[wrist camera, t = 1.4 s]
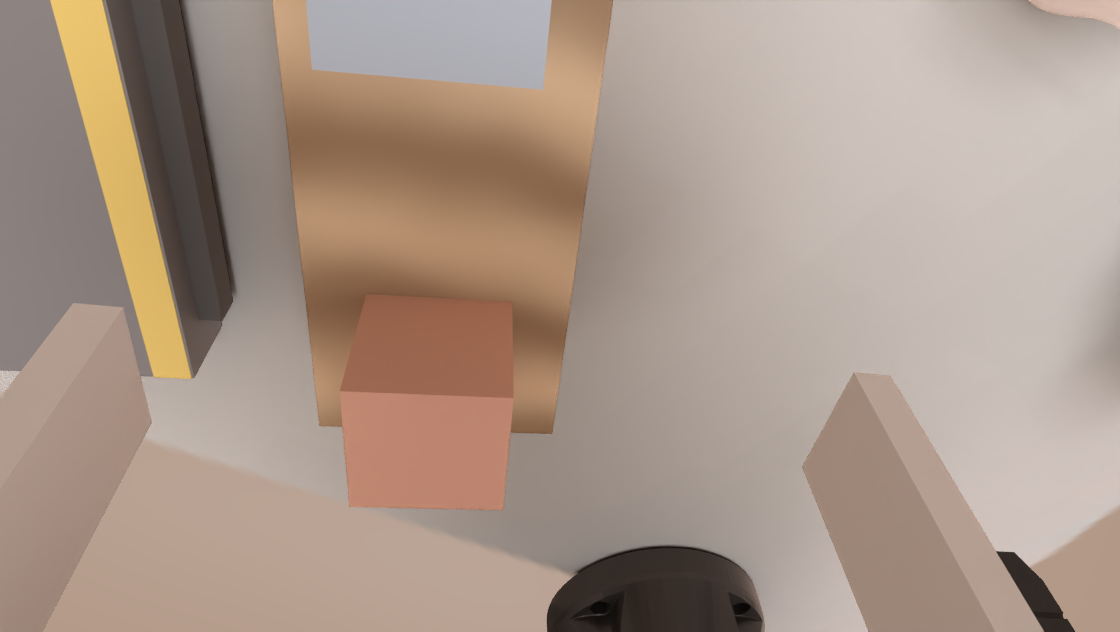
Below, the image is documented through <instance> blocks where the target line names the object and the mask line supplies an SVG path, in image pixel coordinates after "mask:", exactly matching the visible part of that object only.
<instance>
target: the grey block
mask: <svg viewBox="0 0 1120 632" xmlns="http://www.w3.org/2000/svg"><path fill="white" fill-rule="evenodd" d="M551 3H552V0H306V6H307V18H308V30H309V41H310V53H311V65H312V70H322V71H334V72H345V73H357V74H368V75H379V76H391V77H402V78H414V79H425V80H437V81H448V82H460V83H471V84H483V85H494V86H506V87H517V88H529V89H540V90H543V87H544V76H545V66H546V55H547V45H548V34H549V24H550V13H551Z"/></svg>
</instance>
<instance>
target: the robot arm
mask: <svg viewBox="0 0 1120 632" xmlns="http://www.w3.org/2000/svg"><path fill="white" fill-rule="evenodd" d="M150 424H151V418H150V413H149V409H148V405H147V401H146V397H145V393H144V389H143V385H142V381H141V377H140V373H139V369H138V365H137V361H136V357H135V353H134V349H133V345H132V341H131V337H130V333H129V329H128V325H127V321H126V317H125V313H124V309H123V307H114V306H102V305H91V304H80V303H73V304H72V305H71V307H70V308H69V309H68V311H67V312H66V313H65V314H64V316H63V317H62V318H61V320H60V321H59V322H58V324H57V325H56V326H55V327H54V329H53V330H52V331H51V333H50V334H49V335H48V337H47V338H46V339H45V340H44V342H43V343H42V344H41V346H40V347H39V348H38V350H37V351H36V352H35V353H34V355H33V356H32V357H31V359H30V360H29V361H28V363H27V364H26V365H25V366H24V368H23V369H22V370H21V372H20V373H19V374H18V376H17V377H16V378H15V379H14V381H13V382H12V383H11V385H10V386H9V387H8V389H7V390H6V391H5V392H4V394H3V395H2V396H1V398H0V632H43V630H44V628H45V626H46V624H47V622H48V620H49V618H50V617H51V615H52V613H53V611H54V609H55V607H56V605H57V603H58V601H59V599H60V597H61V595H62V594H63V591H64V590H65V588H66V586H67V584H68V582H69V580H70V578H71V576H72V574H73V572H74V570H75V569H76V566H77V565H78V563H79V561H80V559H81V557H82V555H83V553H84V551H85V549H86V547H87V546H88V543H89V542H90V540H91V537H92V536H93V534H94V532H95V530H96V528H97V526H98V524H99V522H100V520H101V519H102V517H103V515H104V513H105V511H106V509H107V507H108V505H109V503H110V501H111V499H112V497H113V495H114V494H115V492H116V490H117V488H118V486H119V484H120V482H121V480H122V478H123V476H124V474H125V472H126V470H127V469H128V467H129V465H130V463H131V461H132V459H133V457H134V455H135V453H136V451H137V449H138V447H139V446H140V444H141V442H142V440H143V438H144V436H145V434H146V432H147V430H148V428H149V426H150ZM802 468H803V470H804V473H805V475H806V478H807V480H808V483H809V485H810V488H811V490H812V493H813V495H814V497H815V500H816V502H817V505H818V507H819V510H820V512H821V515H822V517H823V520H824V522H825V525H826V527H827V530H828V532H829V535H830V537H831V540H832V542H833V545H834V547H835V549H836V552H837V554H838V557H839V559H840V562H841V564H842V567H843V569H844V572H845V574H846V577H847V579H848V582H849V584H850V587H851V589H852V592H853V594H854V596H855V599H856V601H857V604H858V606H859V609H860V611H861V614H862V616H863V619H864V621H865V624H866V626H867V629H868V631H869V632H1075V631H1074V629H1073V627H1072V626H1071V624H1070V623H1069V621H1068V620H1067V619H1064V618H1063V612H1062V610H1061V609H1060V607H1059V605H1058V604H1057V602H1056V601H1055V599H1054V598H1053V596H1052V594H1051V593H1050V591H1049V590H1048V588H1047V586H1046V585H1045V583H1044V582H1043V580H1042V579H1041V578H1039V576H1038V575H1037V574H1036V573H1035V572H1034V571H1032V570H1031V569H1030V568H1029V567H1028V566H1027V565H1026V564H1025V563H1024V562H1023V561H1022V560H1021V559H1020V558H1019V557H1018V556H1017V555H1016V554H1015V553H1014V552H998V551H995V549H994V547H993V546H992V544H991V542H990V541H989V539H988V537H987V536H986V534H985V532H984V531H983V529H982V527H981V526H980V524H979V522H978V521H977V519H976V517H975V516H974V514H973V512H972V511H971V509H970V507H969V506H968V504H967V502H966V501H965V499H964V497H963V496H962V494H961V492H960V491H959V489H958V487H957V486H956V484H955V482H954V481H953V479H952V477H951V476H950V474H949V472H948V471H947V469H946V467H945V466H944V464H943V462H942V461H941V459H940V457H939V456H938V454H937V452H936V451H935V449H934V447H933V446H932V444H931V442H930V441H929V439H928V437H927V436H926V434H925V432H924V431H923V429H922V427H921V426H920V424H919V422H918V421H917V419H916V417H915V416H914V414H913V412H912V411H911V409H910V407H909V406H908V404H907V402H906V401H905V399H904V397H903V396H902V394H901V392H900V391H899V389H898V387H897V386H896V384H895V382H894V381H893V379H892V377H891V376H887V375H876V374H865V373H853V375H852V377H851V379H850V381H849V382H848V384H847V386H846V388H845V390H844V391H843V393H842V395H841V397H840V399H839V401H838V402H837V404H836V406H835V408H834V410H833V411H832V413H831V415H830V417H829V419H828V421H827V422H826V424H825V426H824V428H823V430H822V431H821V433H820V435H819V437H818V439H817V441H816V442H815V444H814V446H813V448H812V450H811V451H810V453H809V455H808V457H807V459H806V460H805V462H804V464H803V466H802ZM547 632H765V624H764V617H763V612H762V609H761V606H760V603H759V599H758V596H757V593H756V590H755V587H754V584H753V583H752V581H751V579H750V578H749V576H748V575H747V574H746V573H745V572H744V571H743V570H742V569H741V568H739V567H738V566H737V565H735V564H733V563H732V562H730V561H728V560H726V559H724V558H722V557H719V556H716V555H713V554H710V553H706V552H702V551H697V550H690V549H680V548H659V549H648V550H641V551H635V552H630V553H626V554H622V555H618V556H615V557H612V558H609V559H606V560H604V561H601V562H599V563H597V564H595V565H592V566H590V567H589V568H587V569H585V570H583V571H582V572H580V573H578V574H577V575H576V576H574V577H573V578H572V579H570V580H569V581H568V582H567V583H566V584H565V585H564V586H562V588H561V589H560V590H559V591H558V592H557V594H556V595H555V597H554V598H553V600H552V602H551V604H550V606H549V609H548V613H547Z"/></svg>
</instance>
